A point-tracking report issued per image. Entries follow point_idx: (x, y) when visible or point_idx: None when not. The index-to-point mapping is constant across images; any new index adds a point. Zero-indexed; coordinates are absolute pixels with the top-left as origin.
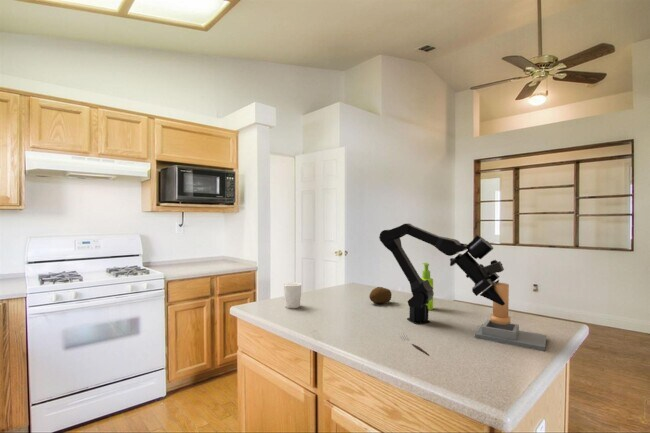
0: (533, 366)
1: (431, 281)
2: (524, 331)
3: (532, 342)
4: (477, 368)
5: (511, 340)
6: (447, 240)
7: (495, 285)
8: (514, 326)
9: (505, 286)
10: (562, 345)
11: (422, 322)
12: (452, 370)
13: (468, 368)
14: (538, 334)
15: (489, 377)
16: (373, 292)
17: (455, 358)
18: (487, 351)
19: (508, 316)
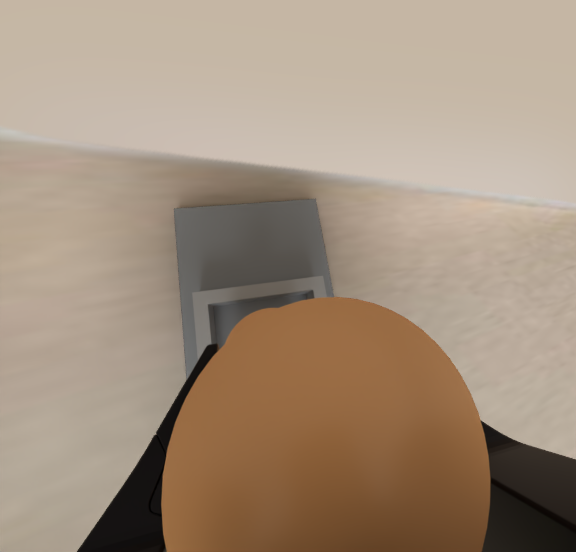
0: (439, 212)
1: None
2: (179, 280)
3: (297, 233)
4: (550, 309)
5: (327, 290)
6: None
7: (459, 515)
8: (210, 307)
9: (407, 328)
10: (218, 170)
11: None
12: None
13: (567, 325)
14: (184, 232)
15: (565, 273)
16: None
17: (547, 377)
18: (437, 329)
19: (250, 322)
